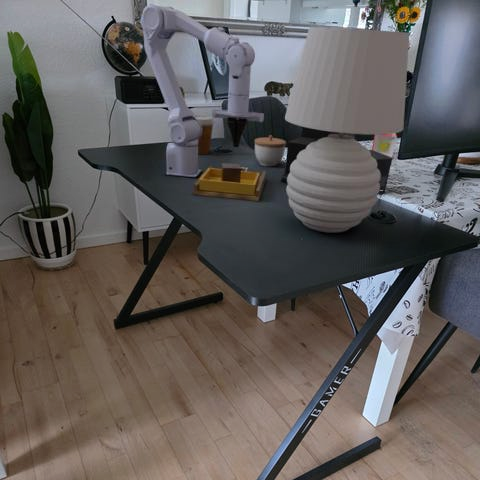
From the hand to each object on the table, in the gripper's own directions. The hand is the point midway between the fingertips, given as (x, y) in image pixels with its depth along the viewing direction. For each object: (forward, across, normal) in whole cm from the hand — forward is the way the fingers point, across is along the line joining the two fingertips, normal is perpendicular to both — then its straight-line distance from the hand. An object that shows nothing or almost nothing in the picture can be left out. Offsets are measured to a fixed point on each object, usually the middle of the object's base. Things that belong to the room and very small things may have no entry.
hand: (236, 146), depth 130 cm
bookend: (+11, +23, +15) cm, 29 cm away
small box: (+11, +40, +7) cm, 42 cm away
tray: (+9, 0, -6) cm, 11 cm away
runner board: (+10, 0, -5) cm, 11 cm away
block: (+8, 0, -8) cm, 12 cm away
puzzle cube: (+11, +51, +59) cm, 78 cm away
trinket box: (+11, +8, +27) cm, 30 cm away
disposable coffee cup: (+11, -18, +35) cm, 41 cm away
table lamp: (+11, +27, -28) cm, 41 cm away
